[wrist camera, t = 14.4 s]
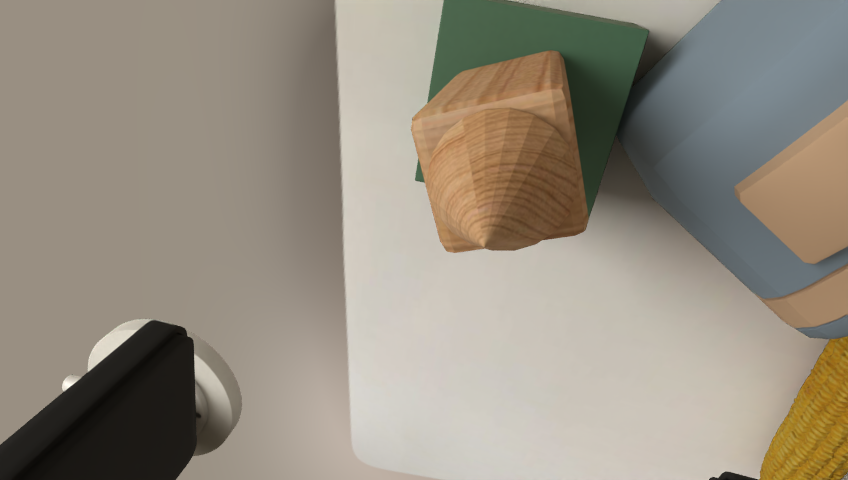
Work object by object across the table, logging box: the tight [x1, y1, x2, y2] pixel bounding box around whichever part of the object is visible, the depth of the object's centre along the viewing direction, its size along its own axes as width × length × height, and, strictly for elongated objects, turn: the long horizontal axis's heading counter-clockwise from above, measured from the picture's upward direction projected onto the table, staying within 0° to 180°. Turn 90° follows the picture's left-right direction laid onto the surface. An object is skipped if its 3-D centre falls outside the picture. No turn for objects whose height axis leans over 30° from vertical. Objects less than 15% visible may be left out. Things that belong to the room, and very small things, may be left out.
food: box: [759, 336, 848, 480], centre depth 42 cm, size 21×6×6 cm, turn 173°
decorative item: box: [411, 50, 589, 253], centre depth 26 cm, size 7×7×20 cm
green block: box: [415, 0, 649, 217], centre depth 37 cm, size 12×12×6 cm
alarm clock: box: [616, 0, 848, 339], centre depth 30 cm, size 16×16×16 cm
